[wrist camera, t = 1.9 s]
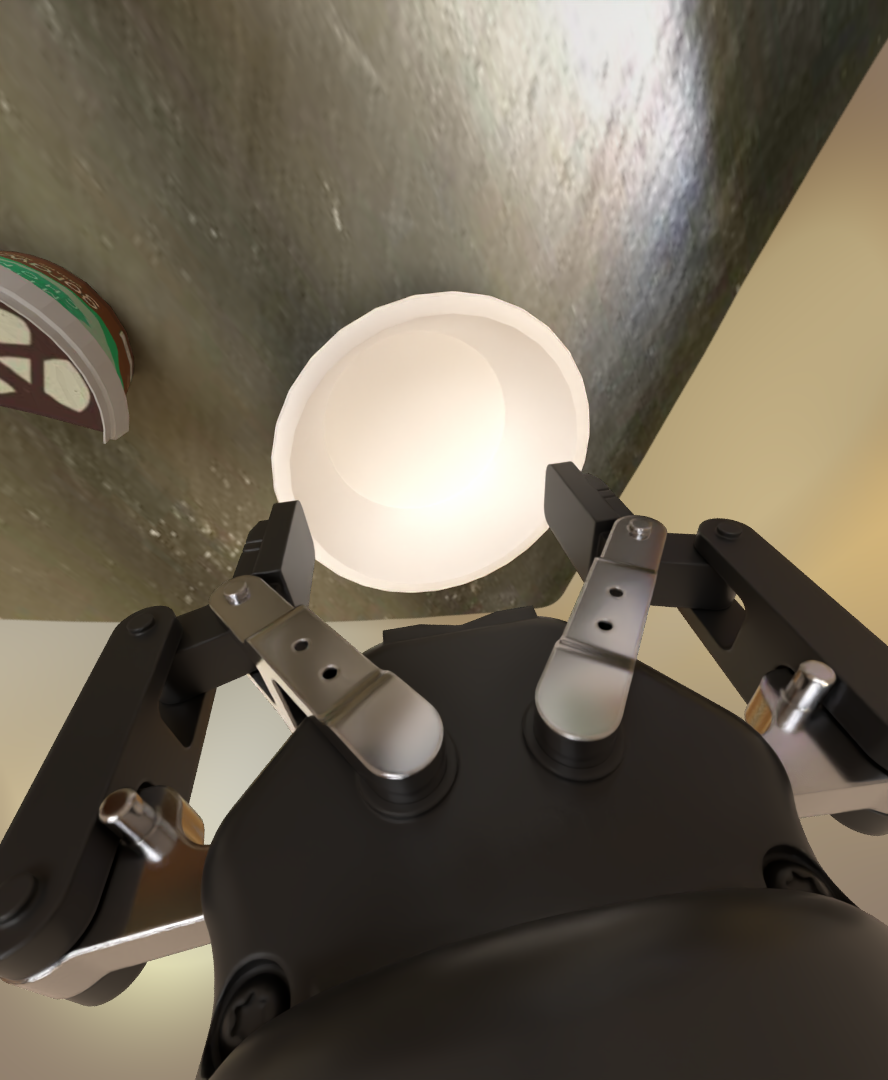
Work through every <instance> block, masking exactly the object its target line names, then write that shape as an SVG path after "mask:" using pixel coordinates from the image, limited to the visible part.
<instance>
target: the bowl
mask: <svg viewBox="0 0 888 1080" xmlns="http://www.w3.org/2000/svg"><path fill="white" fill-rule="evenodd" d="M588 440H589V404H588V400H587V396H586V391H585V387H584V383H583V379H582V376H581V374H580V372H579V370H578V368H577V366H576V364H575V362H574V360H573V358H572V356H571V354H570V352H569V350H568V349H567V348H566V347H565V345H564V344H563V343H562V342H561V341H560V340H559V338H558V337H557V336H556V335H555V334H554V332H553V331H552V330H551V329H550V328H549V327H548V326H547V325H545V324H544V323H542V322H541V321H540V320H538V319H537V318H535V317H534V316H533V315H531V314H530V313H528V312H527V311H526V310H524V309H523V308H520V307H518V306H515V305H513V304H510V303H507V302H505V301H502V300H500V299H497V298H495V297H492V296H488V295H480V294H472V293H465V292H457V291H449V292H439V293H430V294H420V295H413V296H410V297H407V298H404V299H401V300H398V301H395V302H393V303H390V304H387V305H384V306H381V307H378V308H375V309H374V310H372V311H370V312H369V313H367V314H365V315H364V316H362V317H360V318H359V319H357V320H355V321H354V322H352V323H350V324H349V325H347V326H346V327H344V328H342V329H341V330H339V331H338V332H337V333H336V334H335V335H334V336H333V337H332V338H331V339H330V340H329V341H328V342H327V343H326V344H325V345H324V346H323V347H322V348H321V349H320V350H318V351H317V352H316V353H315V354H314V355H313V356H312V357H311V358H310V360H309V361H308V363H307V364H306V366H305V367H304V369H303V370H302V372H301V373H300V375H299V376H298V378H297V379H296V381H295V382H294V384H293V385H292V387H291V388H290V390H289V392H288V395H287V397H286V400H285V402H284V405H283V407H282V410H281V412H280V415H279V418H278V420H277V423H276V428H275V435H274V442H273V448H272V455H271V461H272V472H273V484H274V491H275V494H276V497H277V500H278V503H281V502H288V501H294V500H299V501H300V503H301V505H302V508H303V511H304V514H305V517H306V520H307V523H308V527H309V530H310V533H311V536H312V539H313V543H314V549H315V559H316V560H317V561H319V562H320V563H322V564H323V565H325V566H326V567H328V568H329V569H330V570H332V571H333V572H335V573H336V574H338V575H339V576H342V577H344V578H346V579H349V580H351V581H353V582H356V583H358V584H361V585H363V586H367V587H372V588H376V589H380V590H385V591H393V592H409V593H415V592H426V591H438V590H442V589H446V588H450V587H455V586H459V585H463V584H465V583H468V582H470V581H473V580H476V579H478V578H481V577H483V576H486V575H488V574H489V573H491V572H493V571H495V570H497V569H499V568H500V567H502V566H504V565H506V564H508V563H509V562H510V561H512V560H513V559H514V558H516V557H517V556H518V555H520V554H521V553H523V552H524V551H525V550H527V549H528V548H529V547H530V546H531V545H532V544H533V543H534V542H535V541H536V540H537V539H538V538H539V537H540V536H541V535H542V534H543V533H544V532H545V531H546V530H547V529H548V528H549V525H548V524H547V522H546V519H545V514H544V493H545V476H546V468H547V466H548V465H549V464H554V463H561V462H568V461H571V462H573V463H574V464H575V466H576V467H577V468H578V469H579V470H580V471H581V470H582V467H583V465H584V462H585V457H586V451H587V446H588Z"/></svg>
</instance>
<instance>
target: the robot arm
mask: <svg viewBox="0 0 888 1080" xmlns="http://www.w3.org/2000/svg"><path fill="white" fill-rule="evenodd" d="M544 514H545V519H546V522H547V524H548V525H549V527H550V529H551V530H552V532H553V533H554V535H555V537H556V538H557V540H558V542H559V543H560V545H561V546H562V548H563V550H564V551H565V553H566V554H567V556H568V558H569V559H570V561H571V563H572V564H573V566H574V567H575V569H576V571H577V572H578V574H579V575H580V577H581V579H582V580H583V582H584V584H583V587H582V589H581V591H580V594H579V596H578V599H577V601H576V603H575V606H574V608H573V610H572V613H571V615H570V617H569V620H568V622H566V621H563V620H560V619H555V618H551V617H542V616H537V615H536V612H535V610H534V608H533V606H526V607H520V608H514V609H509V610H503V611H497V612H494V613H491V614H489V615H486V616H484V617H481V618H479V619H476V620H473V621H471V622H468V623H465V624H463V625H425V624H419V625H414V626H408V627H402V628H396V629H390V630H384V631H383V643H380V644H378V645H376V646H374V647H372V648H370V649H368V650H367V651H365V652H363V653H361V652H359V651H358V650H357V649H356V648H355V647H353V646H352V645H351V644H350V643H349V642H348V641H346V640H345V639H344V638H343V637H342V636H341V635H339V634H338V633H337V632H336V631H335V630H333V629H332V628H331V627H330V626H329V625H328V624H327V623H325V622H324V621H323V620H322V619H321V618H319V617H318V616H317V615H316V614H315V613H314V612H312V611H311V610H310V609H309V608H308V606H309V599H310V591H311V584H312V577H313V570H314V562H315V549H314V543H313V539H312V536H311V533H310V530H309V527H308V523H307V520H306V517H305V514H304V511H303V508H302V505H301V503H300V501H299V500H294V501H288V502H281V503H275V504H274V505H273V508H272V511H271V514H270V517H269V520H264V521H259V522H258V523H257V524H256V525H255V527H254V528H253V529H252V530H251V531H250V532H249V534H248V537H247V540H246V544H245V545H244V548H243V553H242V554H241V556H240V559H239V562H238V565H237V567H236V570H235V573H234V576H233V578H232V579H230V580H228V581H225V582H224V583H222V584H221V585H219V586H218V587H217V588H216V589H215V590H214V591H213V592H212V593H211V595H210V597H209V604H208V605H206V606H204V607H202V608H199V609H197V610H194V611H191V612H189V613H186V614H183V615H180V616H178V617H176V615H175V613H174V612H173V610H172V609H170V608H169V607H166V606H153V607H149V608H145V609H142V610H140V611H138V612H135V613H134V614H132V615H130V616H128V617H127V618H126V619H124V620H123V621H122V622H121V623H120V624H118V626H117V627H116V628H115V630H114V631H113V633H112V635H111V636H110V638H109V640H108V642H107V644H106V646H105V648H104V649H103V652H102V653H101V655H100V657H99V659H98V661H97V663H96V665H95V666H94V668H93V670H92V672H91V674H90V676H89V678H88V680H87V682H86V683H85V685H84V687H83V689H82V691H81V693H80V695H79V697H78V698H77V700H76V702H75V704H74V706H73V708H72V710H71V712H70V713H69V716H68V717H67V719H66V721H65V723H64V725H63V727H62V729H61V730H60V732H59V734H58V736H57V738H56V740H55V742H54V744H53V746H52V747H51V749H50V751H49V753H48V755H47V757H46V759H45V761H44V763H43V764H42V766H41V768H40V770H39V772H38V774H37V776H36V778H35V779H34V781H33V783H32V785H31V787H30V789H29V791H28V793H27V795H26V796H25V798H24V800H23V802H22V804H21V806H20V808H19V810H18V812H17V814H16V815H15V817H14V819H13V821H12V823H11V825H10V827H9V829H8V830H7V832H6V834H5V836H4V838H3V840H2V842H1V844H0V978H1V979H2V981H4V982H6V983H8V984H11V985H14V986H17V987H20V988H23V989H26V990H29V991H32V992H35V993H38V994H41V995H44V996H47V997H50V998H53V999H66V1000H69V1001H72V1002H75V1003H78V1004H81V1005H85V1006H98V1005H101V1004H104V1003H106V1002H108V1001H110V1000H112V999H114V998H115V997H116V996H118V995H119V994H121V993H122V992H123V991H124V990H125V989H127V988H128V987H129V985H130V984H131V983H132V982H133V981H134V980H135V979H136V978H137V976H138V975H139V974H140V973H141V971H142V969H143V968H144V966H145V965H146V963H147V962H148V961H151V960H155V959H158V958H162V957H165V956H169V955H172V954H176V953H179V952H183V951H186V950H189V949H193V948H197V947H200V946H203V945H207V944H210V943H211V945H212V952H213V960H214V977H215V979H214V980H215V981H214V1006H213V1013H212V1020H211V1024H210V1029H209V1033H208V1037H207V1041H206V1045H205V1048H204V1052H203V1055H202V1058H201V1062H200V1065H199V1069H198V1072H197V1075H196V1079H195V1080H888V926H887V925H885V924H884V923H882V922H881V921H879V920H878V919H876V918H875V917H874V916H872V915H870V914H868V913H866V912H865V911H863V910H861V909H860V908H859V907H857V906H856V905H855V904H854V903H853V902H852V901H851V900H850V899H849V898H848V897H847V896H846V895H845V894H844V893H843V892H842V891H841V890H840V889H839V888H838V887H837V886H836V885H835V884H834V883H833V881H832V880H831V879H830V878H829V877H828V875H827V874H826V873H825V871H824V870H823V869H822V867H821V866H820V864H819V862H818V861H817V859H816V857H815V855H814V853H813V851H812V849H811V847H810V845H809V843H808V841H807V838H806V835H805V833H804V831H803V828H802V825H801V823H800V819H799V818H806V817H813V816H820V815H827V814H830V815H831V816H832V817H833V818H835V819H836V820H837V821H839V822H840V823H842V824H843V825H845V826H847V827H848V828H850V829H852V830H855V831H857V832H860V833H863V834H867V835H873V836H880V835H885V834H888V646H887V645H886V644H885V643H884V642H883V641H881V640H880V639H879V638H878V637H877V636H876V635H874V634H873V633H872V632H871V631H869V629H868V628H866V627H865V626H864V625H863V624H862V623H861V622H859V621H858V620H857V619H856V618H855V617H854V616H852V615H851V614H850V613H849V612H848V611H847V610H846V609H844V608H843V607H842V606H841V605H840V604H839V603H837V602H836V601H835V600H834V599H833V598H832V597H831V596H829V595H828V594H827V593H826V592H825V591H824V590H822V589H821V588H820V587H819V586H818V585H816V584H815V583H814V582H813V581H812V580H811V579H810V578H809V577H807V576H806V575H805V574H804V573H803V572H802V571H800V570H799V569H798V568H797V567H796V566H795V565H794V564H792V563H791V562H790V561H789V560H788V559H787V558H785V557H784V556H783V555H782V554H781V553H780V552H778V551H777V550H776V549H775V548H774V547H773V546H772V545H770V544H769V543H768V542H767V541H766V540H764V539H763V538H762V537H761V536H760V535H759V534H757V533H756V532H755V531H754V530H753V529H752V528H750V527H749V526H747V525H745V524H743V523H740V522H737V521H734V520H729V519H720V518H719V519H718V518H717V519H709V520H706V521H704V522H702V523H701V524H700V526H699V528H698V532H697V534H696V535H695V534H676V533H675V534H674V533H667V529H666V528H665V526H664V525H663V524H662V523H660V522H659V521H657V520H655V519H652V518H649V517H646V516H640V515H634V514H633V513H632V512H631V511H630V510H629V509H628V508H627V507H626V506H625V505H624V504H623V502H622V501H621V500H620V499H619V498H618V497H616V496H615V494H614V493H613V492H612V491H611V490H609V487H608V486H607V485H606V484H605V483H604V482H603V481H602V480H601V479H599V478H597V477H595V476H593V475H591V474H589V473H588V474H583V473H582V472H581V471H580V470H579V469H578V468H577V467H576V466H575V464H574V463H573V462H571V461H568V462H561V463H554V464H549V465H548V466H547V468H546V476H545V493H544ZM736 594H737V595H738V596H739V597H740V598H741V600H742V602H743V603H744V606H745V610H744V609H743V608H742V606H740V604H739V603H738V602H737V601H736V600H735V599H734V598H735V596H736ZM650 605H653V606H665V607H677V608H678V610H679V611H680V612H681V614H682V615H683V617H684V618H685V620H686V621H687V622H688V624H689V625H690V626H691V628H692V629H693V630H694V632H695V633H696V634H697V636H698V637H699V639H700V640H701V641H702V643H703V644H704V646H705V647H706V648H707V650H708V651H709V653H710V654H711V655H712V657H713V658H714V659H715V661H716V662H717V664H718V665H719V666H720V668H721V669H722V670H723V672H724V673H725V675H726V676H727V677H728V679H729V680H730V681H731V683H732V684H733V686H734V687H735V688H736V690H737V691H738V692H739V694H740V695H741V697H742V698H743V699H744V701H745V702H746V703H747V707H746V709H745V721H746V722H745V721H744V720H743V719H741V718H740V717H738V716H737V715H735V714H734V713H732V712H730V711H728V710H727V709H725V708H723V707H721V706H720V705H718V704H716V703H714V702H712V701H711V700H709V699H707V698H705V697H703V696H701V695H700V694H698V693H696V692H694V691H693V690H691V689H689V688H687V687H686V686H684V685H682V684H680V683H678V682H677V681H675V680H673V679H671V678H669V677H668V676H666V675H664V674H662V673H660V672H659V671H657V670H655V669H653V668H651V667H650V666H648V665H646V664H644V663H642V662H641V661H639V660H637V655H638V651H639V647H640V643H641V639H642V634H643V631H644V627H645V623H646V619H647V615H648V610H649V607H650ZM246 674H247V675H248V677H249V678H250V679H251V681H252V682H253V683H254V684H255V685H256V687H257V688H258V689H259V690H260V691H261V693H262V694H263V695H264V696H265V698H266V699H267V700H268V701H269V702H270V704H271V705H272V706H273V707H274V708H275V710H276V711H277V712H278V713H279V715H280V716H281V717H282V719H283V720H284V722H285V723H286V725H287V726H288V728H289V730H290V731H291V733H292V735H291V736H290V737H289V738H288V740H287V741H286V742H285V743H284V745H283V746H282V747H281V748H280V749H279V751H278V752H277V753H276V754H275V756H274V757H273V758H272V759H271V761H270V762H269V763H268V764H267V765H266V767H265V768H264V769H263V770H262V772H261V773H260V774H259V775H258V777H257V778H256V779H255V780H254V782H253V783H252V784H251V785H250V786H249V788H248V789H247V790H246V791H245V793H244V794H243V795H242V796H241V798H240V799H239V800H238V801H237V803H236V804H235V805H234V806H233V807H232V809H231V810H230V811H229V813H228V814H227V815H226V817H225V818H224V820H223V821H222V823H221V825H220V826H219V828H218V830H217V832H216V834H215V836H214V838H213V840H212V842H211V844H210V845H204V824H203V821H202V819H201V817H200V816H199V815H198V814H197V813H196V812H195V810H194V809H193V808H192V807H191V806H190V805H189V801H190V797H191V793H192V789H193V784H194V780H195V776H196V772H197V768H198V763H199V759H200V755H201V751H202V747H203V743H204V739H205V735H206V730H207V726H208V722H209V718H210V713H211V709H212V705H213V701H214V697H215V693H216V688H217V687H219V686H221V685H223V684H225V683H228V682H230V681H232V680H235V679H237V678H240V677H242V676H244V675H246Z"/></svg>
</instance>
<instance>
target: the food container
mask: <svg viewBox="0 0 888 1080" xmlns="http://www.w3.org/2000/svg"><path fill="white" fill-rule="evenodd" d="M133 373H134V356H133V353H132V349H131V346H130V343H129V339H128V336H127V332H126V331H125V329H124V327H123V326H122V324H121V323H120V321H119V319H118V318H117V316H116V315H115V313H114V311H113V310H112V308H111V307H110V306H109V305H108V304H107V303H106V302H105V301H104V300H103V299H102V298H101V297H100V296H99V295H98V294H97V293H96V292H95V291H94V290H93V289H92V288H91V287H90V286H89V285H88V284H87V283H86V282H84V281H83V280H81V279H80V278H78V277H77V276H75V275H73V274H72V273H70V272H69V271H67V270H66V269H64V268H62V267H60V266H58V265H56V264H54V263H52V262H50V261H48V260H45V259H42V258H39V257H36V256H33V255H29V254H24V253H19V252H13V251H0V406H3V407H8V408H12V409H16V410H21V411H25V412H30V413H34V414H38V415H42V416H46V417H49V418H53V419H57V420H61V421H64V422H68V423H72V424H76V425H79V426H83V427H87V428H90V429H94V430H98V431H101V432H103V434H104V443H105V444H106V443H107V442H108V440H109V439H114V440H116V439H118V438H119V437H121V436H122V435H123V434H125V433H126V432H128V431H129V411H128V405H127V399H126V394H127V391H128V388H129V386H130V383H131V380H132V378H133Z"/></svg>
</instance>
